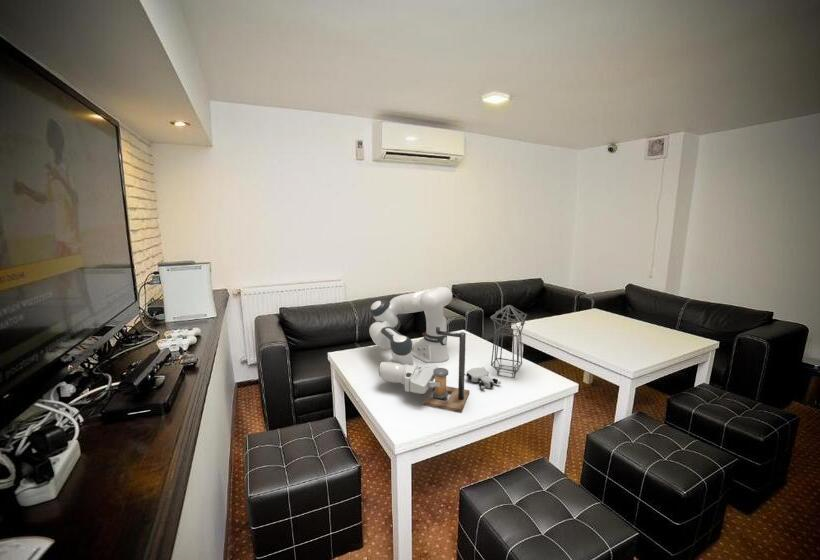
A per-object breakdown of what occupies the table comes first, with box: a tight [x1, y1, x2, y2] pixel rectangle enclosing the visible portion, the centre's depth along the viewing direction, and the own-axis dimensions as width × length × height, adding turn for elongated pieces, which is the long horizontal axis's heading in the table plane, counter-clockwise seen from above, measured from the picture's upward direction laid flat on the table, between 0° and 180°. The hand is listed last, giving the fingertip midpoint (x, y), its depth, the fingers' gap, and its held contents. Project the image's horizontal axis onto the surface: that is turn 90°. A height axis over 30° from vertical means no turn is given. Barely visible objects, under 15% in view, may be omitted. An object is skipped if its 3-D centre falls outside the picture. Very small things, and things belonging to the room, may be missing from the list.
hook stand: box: [436, 327, 467, 400], centre depth 140 cm, size 12×2×30 cm, turn 69°
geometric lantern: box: [489, 304, 528, 379], centre depth 164 cm, size 16×16×35 cm
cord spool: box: [432, 367, 449, 400], centre depth 143 cm, size 6×6×11 cm
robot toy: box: [464, 366, 502, 390], centre depth 157 cm, size 12×4×15 cm
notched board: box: [423, 385, 470, 414], centre depth 144 cm, size 16×16×2 cm
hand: (442, 381), depth 143 cm, fingers closed on cord spool, 5 cm apart
